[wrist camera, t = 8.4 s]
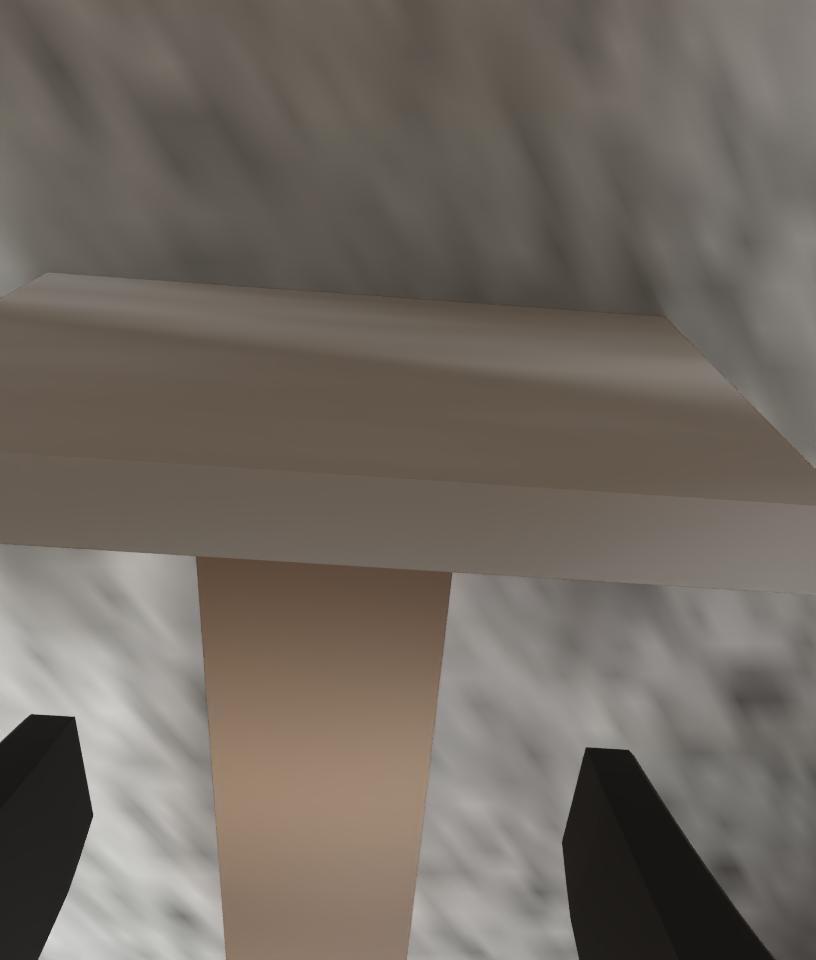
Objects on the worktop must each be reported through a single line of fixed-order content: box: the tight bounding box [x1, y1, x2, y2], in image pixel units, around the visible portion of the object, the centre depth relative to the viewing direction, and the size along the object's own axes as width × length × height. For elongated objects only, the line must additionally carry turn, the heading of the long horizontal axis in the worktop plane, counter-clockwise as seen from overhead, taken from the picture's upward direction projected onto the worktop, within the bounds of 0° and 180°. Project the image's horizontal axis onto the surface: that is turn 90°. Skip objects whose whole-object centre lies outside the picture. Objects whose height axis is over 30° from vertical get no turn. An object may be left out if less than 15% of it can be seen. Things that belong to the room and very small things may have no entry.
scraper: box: [0, 272, 816, 960], centre depth 11 cm, size 14×8×5 cm, turn 176°
